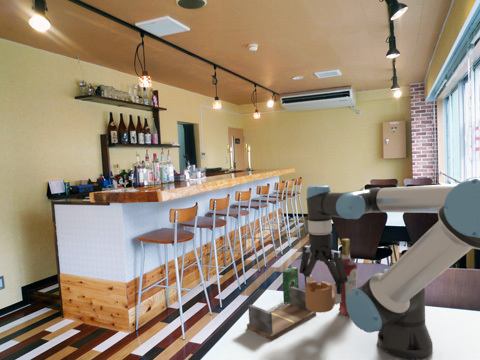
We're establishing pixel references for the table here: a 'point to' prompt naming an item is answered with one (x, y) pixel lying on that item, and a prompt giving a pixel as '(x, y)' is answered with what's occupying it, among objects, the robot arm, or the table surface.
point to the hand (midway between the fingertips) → (323, 298)
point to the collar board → (280, 316)
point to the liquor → (351, 275)
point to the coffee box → (289, 282)
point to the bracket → (319, 296)
